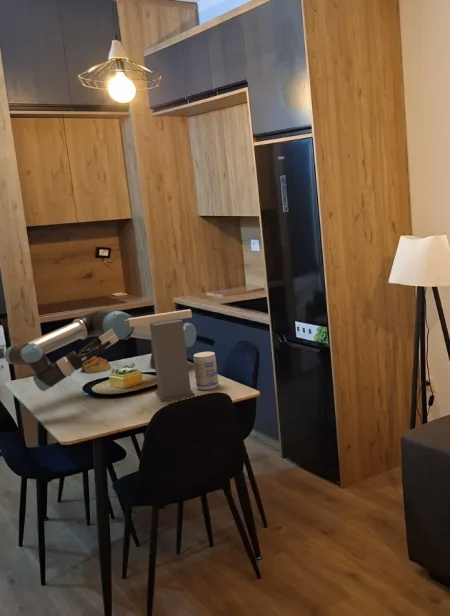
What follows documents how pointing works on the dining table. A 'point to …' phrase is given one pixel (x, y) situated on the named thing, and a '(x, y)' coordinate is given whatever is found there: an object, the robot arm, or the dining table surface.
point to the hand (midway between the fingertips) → (115, 334)
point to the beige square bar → (158, 318)
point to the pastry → (95, 365)
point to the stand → (170, 360)
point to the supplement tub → (205, 370)
